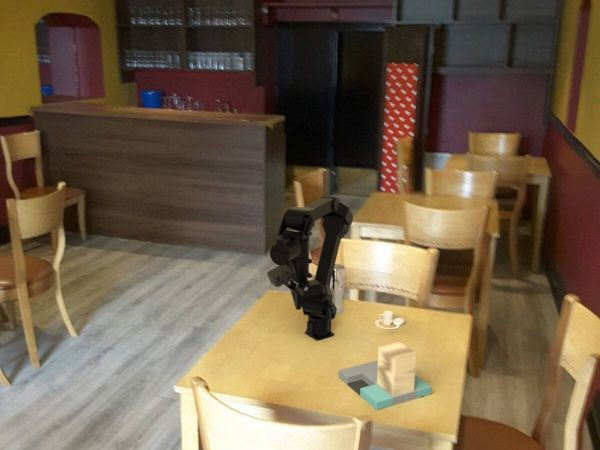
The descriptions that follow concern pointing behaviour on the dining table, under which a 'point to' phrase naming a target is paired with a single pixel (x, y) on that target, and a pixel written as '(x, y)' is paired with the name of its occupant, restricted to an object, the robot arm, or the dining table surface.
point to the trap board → (369, 380)
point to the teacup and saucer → (389, 320)
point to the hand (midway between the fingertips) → (298, 309)
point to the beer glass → (338, 286)
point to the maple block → (396, 368)
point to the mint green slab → (383, 400)
